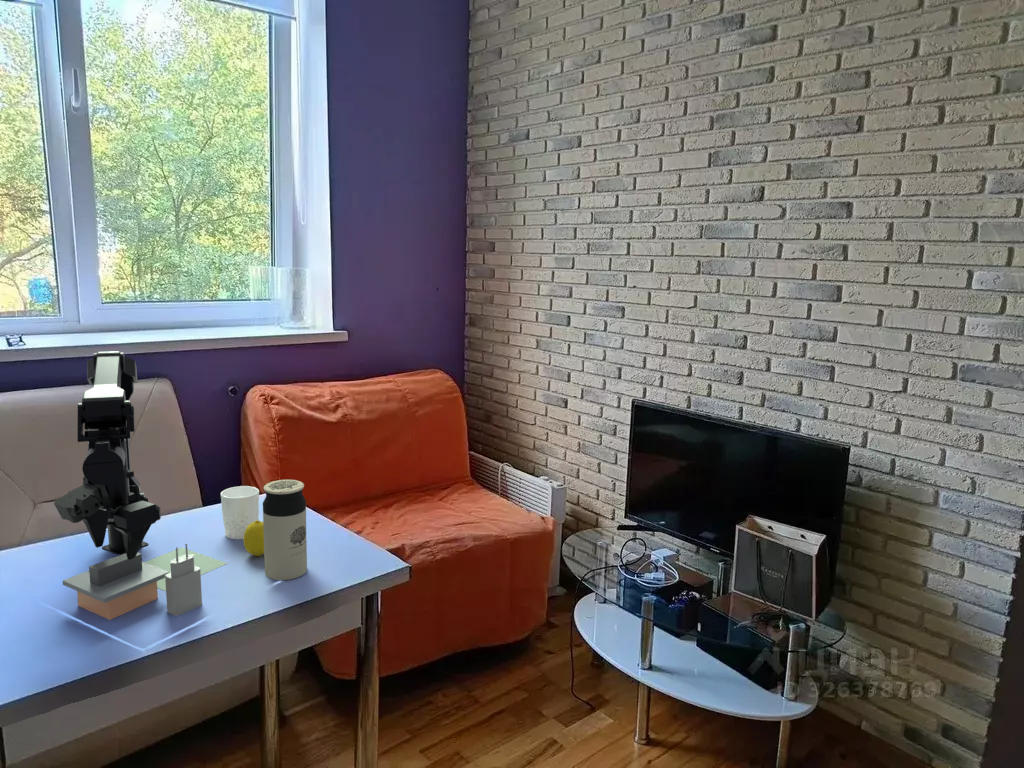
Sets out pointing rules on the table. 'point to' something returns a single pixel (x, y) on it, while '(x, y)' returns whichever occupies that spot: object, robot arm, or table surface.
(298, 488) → the travel mug
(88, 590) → the lid
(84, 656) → the table surface
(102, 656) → the table surface
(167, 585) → the power adapter
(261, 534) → the lemon
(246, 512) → the white cup
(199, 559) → the mat
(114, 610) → the dish
